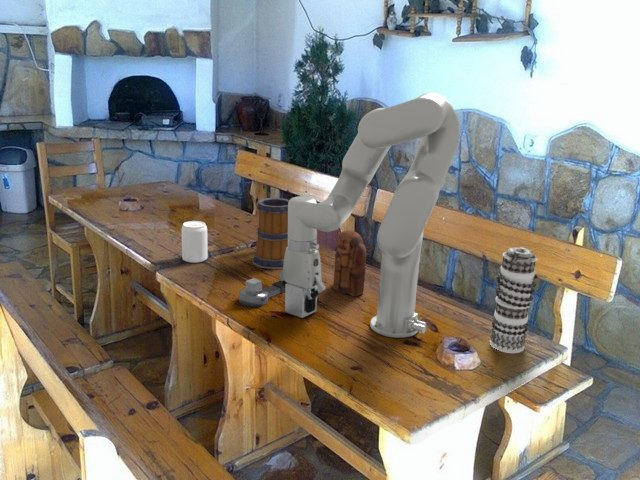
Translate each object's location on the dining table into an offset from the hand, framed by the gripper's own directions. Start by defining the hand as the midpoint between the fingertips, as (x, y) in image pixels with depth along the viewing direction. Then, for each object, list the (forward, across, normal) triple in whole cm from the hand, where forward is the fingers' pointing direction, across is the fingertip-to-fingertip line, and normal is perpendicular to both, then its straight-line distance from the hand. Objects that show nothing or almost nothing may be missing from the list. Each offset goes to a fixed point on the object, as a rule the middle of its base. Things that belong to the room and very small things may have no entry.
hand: (300, 307), depth 175 cm
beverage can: (+1, +52, -8) cm, 52 cm away
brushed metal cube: (+1, 0, 0) cm, 1 cm away
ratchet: (+1, +15, -3) cm, 15 cm away
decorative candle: (+3, -50, -21) cm, 54 cm away
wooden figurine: (+2, 0, -22) cm, 22 cm away
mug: (+1, +34, -26) cm, 43 cm away
